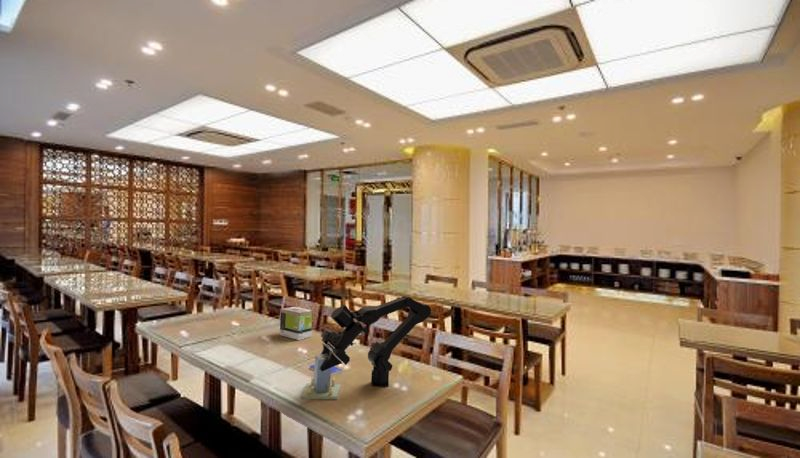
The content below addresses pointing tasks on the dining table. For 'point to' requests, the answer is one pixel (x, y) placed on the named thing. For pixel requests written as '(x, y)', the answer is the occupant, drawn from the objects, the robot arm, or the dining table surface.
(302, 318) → the tea box
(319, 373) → the block
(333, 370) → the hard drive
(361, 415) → the dining table surface
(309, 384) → the chassis
